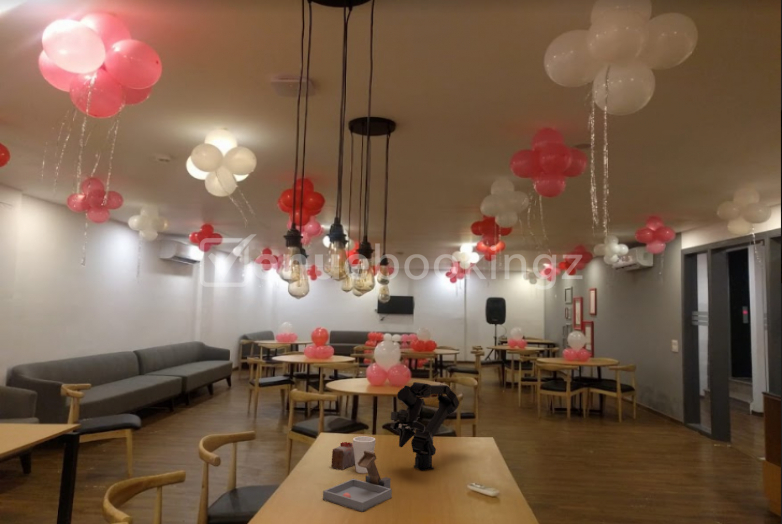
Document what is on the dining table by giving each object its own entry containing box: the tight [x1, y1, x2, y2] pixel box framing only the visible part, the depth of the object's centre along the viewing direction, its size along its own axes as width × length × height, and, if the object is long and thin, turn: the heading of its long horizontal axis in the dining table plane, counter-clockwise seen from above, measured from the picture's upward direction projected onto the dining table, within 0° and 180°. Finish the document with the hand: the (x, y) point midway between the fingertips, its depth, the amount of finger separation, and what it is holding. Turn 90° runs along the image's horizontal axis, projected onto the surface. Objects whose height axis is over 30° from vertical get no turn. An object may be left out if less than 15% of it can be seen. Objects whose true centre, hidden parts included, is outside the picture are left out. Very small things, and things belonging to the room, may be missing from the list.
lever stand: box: [365, 474, 392, 489], centre depth 201 cm, size 4×9×4 cm, turn 55°
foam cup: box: [352, 435, 376, 474], centre depth 223 cm, size 10×9×13 cm
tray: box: [322, 478, 393, 513], centre depth 191 cm, size 17×18×3 cm
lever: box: [358, 451, 382, 485], centre depth 198 cm, size 5×5×15 cm
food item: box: [330, 441, 355, 471], centre depth 230 cm, size 14×8×10 cm, turn 154°
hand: (400, 446), depth 215 cm, fingers closed
